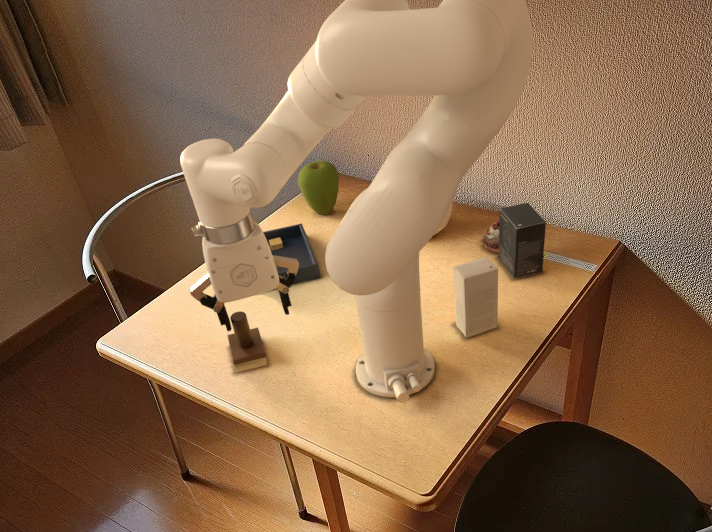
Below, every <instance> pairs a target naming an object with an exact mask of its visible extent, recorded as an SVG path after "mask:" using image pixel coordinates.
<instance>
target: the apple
mask: <svg viewBox="0 0 712 532" xmlns="http://www.w3.org/2000/svg"><path fill="white" fill-rule="evenodd" d="M297 179H298V180H297V184H298V187H299V189H300V192H301V195H302V197H303V198H304V200H305V202H306V203H307V205H308V207H309V208H310V209H311V210H313V211H314V212H315V213H316V214H317V215H319V216H326V215H329V214H330V213H331V212H332V211H333V209H334V207H335V205H336V204H337V200H338V199H337V198H338V195H339V190H340V189H339V188H340V187H339V186H340V185H339V184H340V183H339V182H340V173H339V171H338V169H337V167H336V166H335V165H334V164H333V163H331V162H329V161H326V160H315V161H312V162H309V163H307V164H305V165H304V166H303V167H302V168H301V169H300V171H299V173H298V178H297Z"/></svg>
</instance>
